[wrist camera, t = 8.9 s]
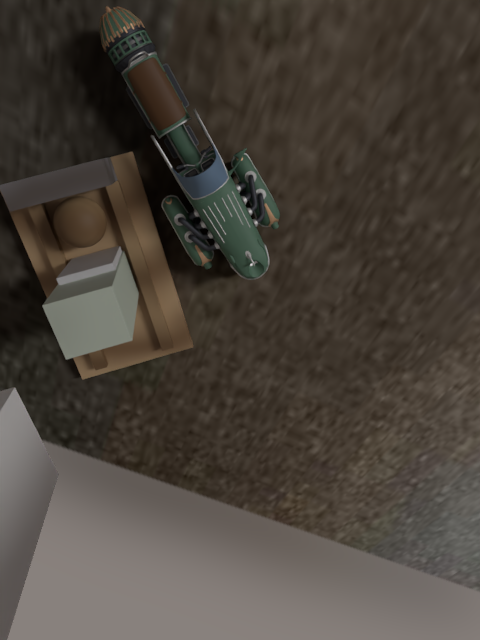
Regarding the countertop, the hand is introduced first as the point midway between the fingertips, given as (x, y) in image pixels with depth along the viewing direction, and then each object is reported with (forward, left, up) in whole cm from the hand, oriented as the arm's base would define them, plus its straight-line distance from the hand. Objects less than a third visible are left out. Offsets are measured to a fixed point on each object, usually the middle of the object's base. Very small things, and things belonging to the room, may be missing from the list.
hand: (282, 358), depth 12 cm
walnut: (-2, -10, -34) cm, 35 cm away
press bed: (+4, -10, -35) cm, 36 cm away
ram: (+4, -10, -33) cm, 35 cm away
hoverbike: (-4, +1, -35) cm, 35 cm away
